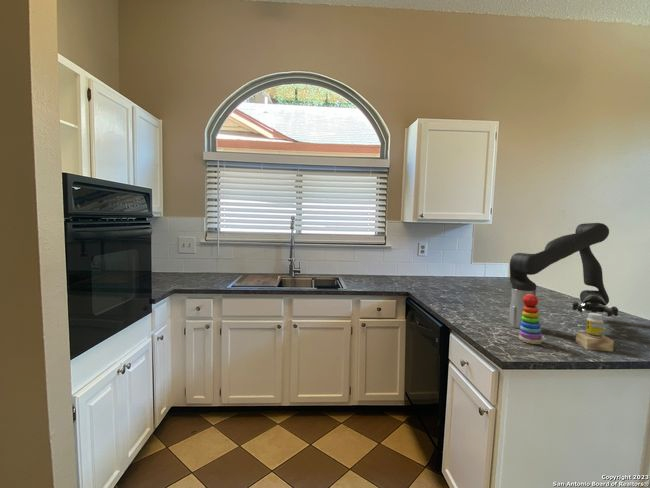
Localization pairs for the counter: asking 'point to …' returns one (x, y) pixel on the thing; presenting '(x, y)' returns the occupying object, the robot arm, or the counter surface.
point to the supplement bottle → (594, 325)
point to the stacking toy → (530, 321)
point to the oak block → (594, 342)
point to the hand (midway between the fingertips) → (594, 312)
